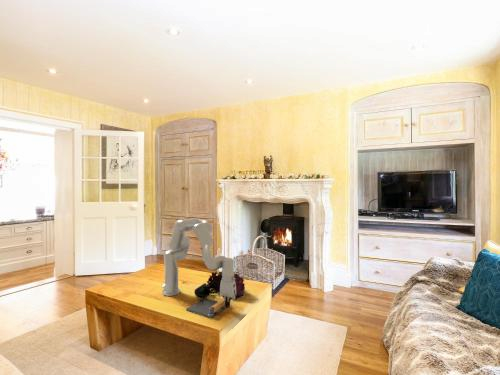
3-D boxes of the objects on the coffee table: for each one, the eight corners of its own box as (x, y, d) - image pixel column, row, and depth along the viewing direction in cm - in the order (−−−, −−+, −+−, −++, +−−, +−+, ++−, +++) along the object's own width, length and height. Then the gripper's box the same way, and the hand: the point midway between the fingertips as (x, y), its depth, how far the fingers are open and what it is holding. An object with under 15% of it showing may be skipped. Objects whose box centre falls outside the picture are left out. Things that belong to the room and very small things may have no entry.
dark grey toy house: (203, 291, 192) (202, 282, 191) (210, 292, 189) (210, 283, 188) (194, 297, 183) (194, 288, 182) (202, 299, 180) (202, 289, 179)
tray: (186, 310, 164) (186, 307, 164) (204, 299, 180) (204, 297, 180) (212, 318, 154) (212, 315, 154) (228, 306, 170) (228, 303, 170)
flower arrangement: (201, 291, 190) (202, 271, 190) (216, 283, 208) (217, 265, 208) (238, 301, 176) (240, 279, 177) (251, 292, 194) (252, 271, 194)
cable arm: (211, 314, 155) (211, 309, 155) (207, 313, 156) (207, 308, 156) (227, 303, 170) (227, 298, 170) (223, 301, 172) (223, 297, 172)
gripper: (240, 278, 164) (240, 307, 164) (221, 274, 171) (221, 301, 171) (234, 282, 157) (234, 312, 158) (214, 277, 164) (214, 306, 165)
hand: (227, 306), depth 165 cm, fingers closed
